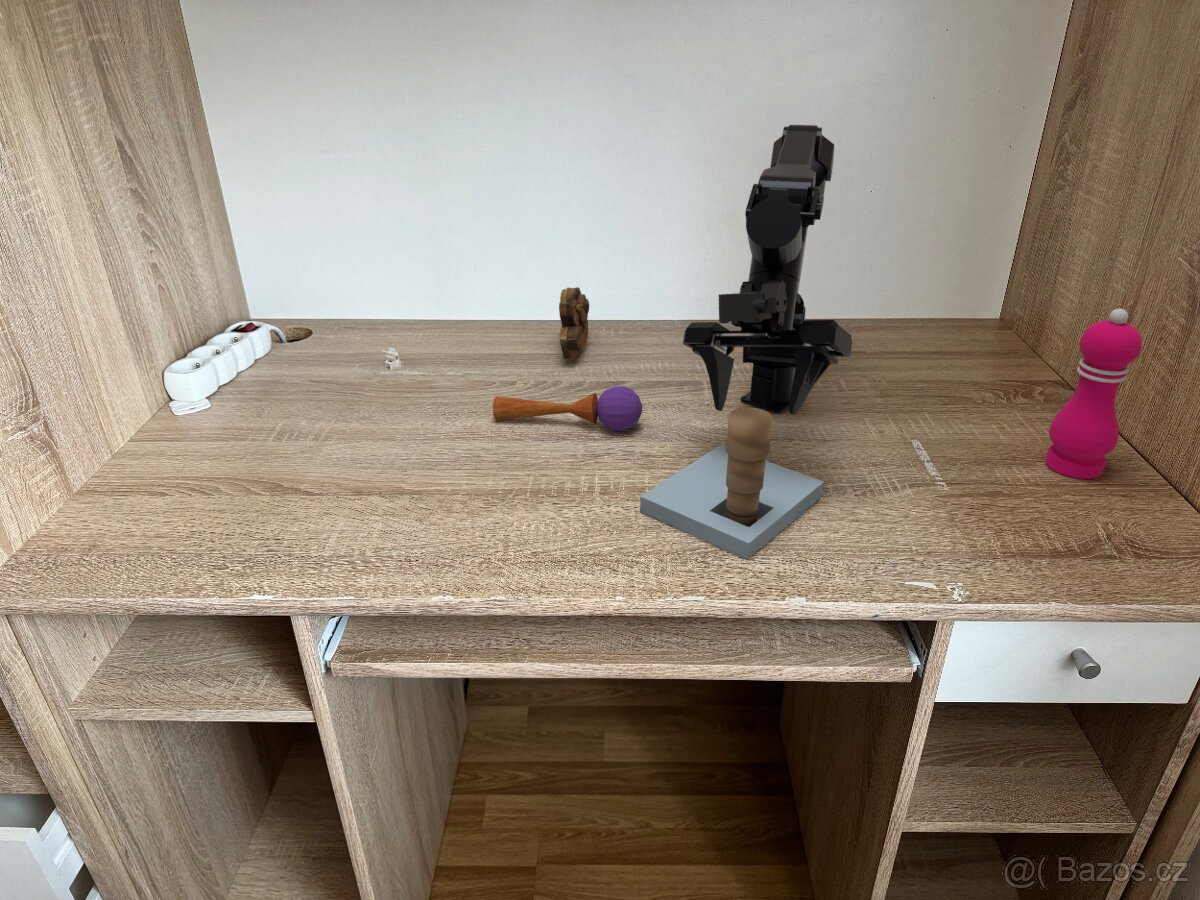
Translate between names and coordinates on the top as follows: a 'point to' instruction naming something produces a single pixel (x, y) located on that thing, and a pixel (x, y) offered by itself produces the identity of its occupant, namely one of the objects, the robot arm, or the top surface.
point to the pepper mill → (1094, 399)
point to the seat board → (702, 499)
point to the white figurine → (392, 359)
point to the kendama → (579, 408)
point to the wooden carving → (573, 322)
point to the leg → (746, 462)
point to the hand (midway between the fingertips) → (754, 412)
